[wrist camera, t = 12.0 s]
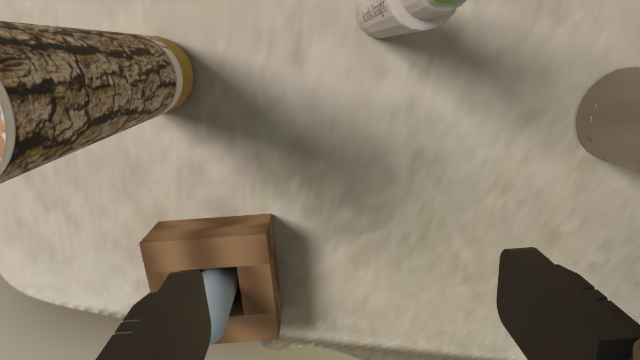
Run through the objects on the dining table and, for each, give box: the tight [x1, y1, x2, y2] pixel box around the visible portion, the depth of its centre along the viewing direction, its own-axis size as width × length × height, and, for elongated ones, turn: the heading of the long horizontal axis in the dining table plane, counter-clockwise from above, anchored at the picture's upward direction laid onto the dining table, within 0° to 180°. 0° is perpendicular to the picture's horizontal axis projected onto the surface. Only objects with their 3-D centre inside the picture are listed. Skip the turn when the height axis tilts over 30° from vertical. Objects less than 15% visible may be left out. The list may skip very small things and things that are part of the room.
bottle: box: [357, 0, 466, 38], centre depth 27 cm, size 4×4×20 cm
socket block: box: [139, 214, 282, 344], centre depth 42 cm, size 12×12×5 cm
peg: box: [202, 267, 239, 345], centre depth 40 cm, size 4×4×10 cm
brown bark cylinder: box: [0, 21, 194, 183], centre depth 26 cm, size 7×7×25 cm
